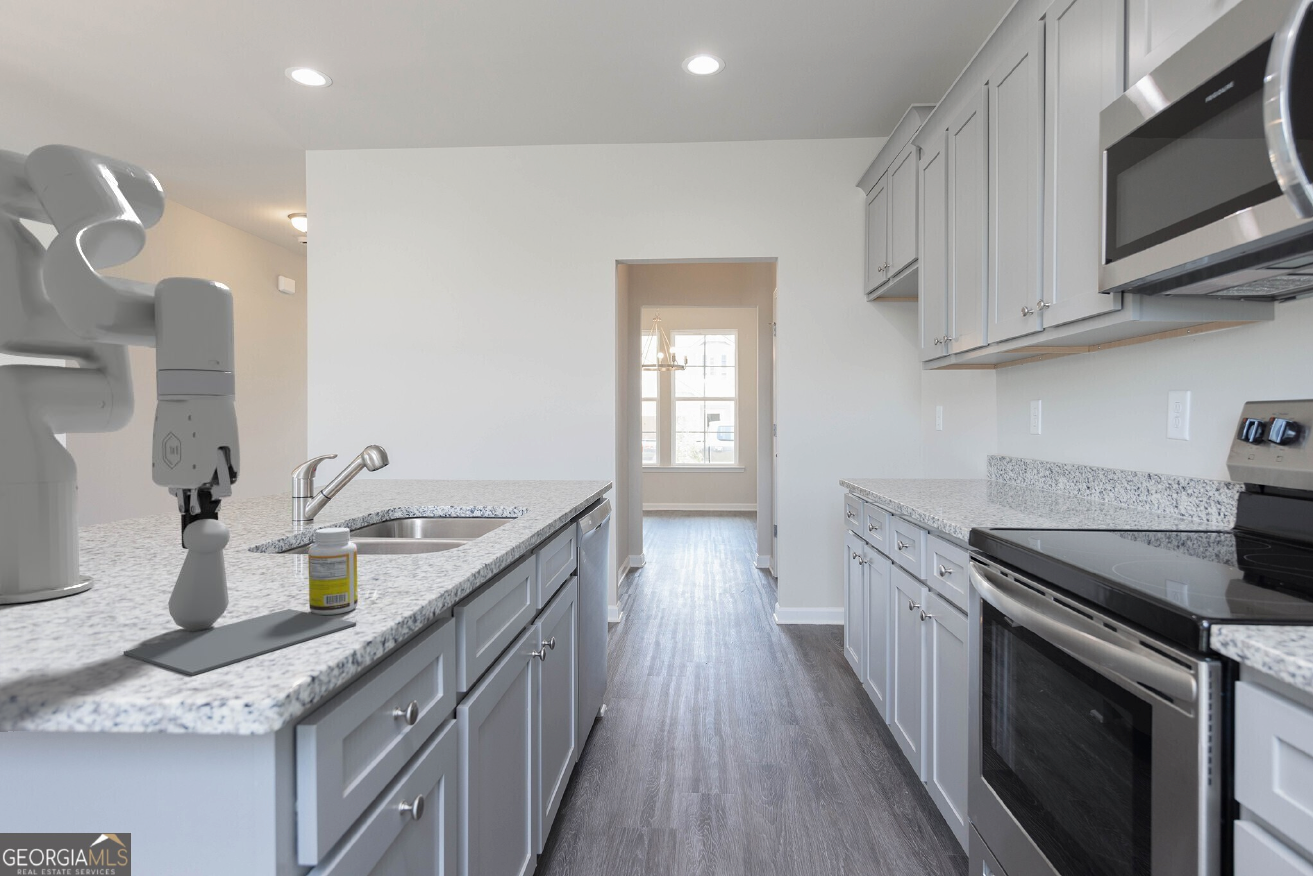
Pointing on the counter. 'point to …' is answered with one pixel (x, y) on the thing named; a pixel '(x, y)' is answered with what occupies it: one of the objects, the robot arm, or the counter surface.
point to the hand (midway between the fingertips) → (200, 547)
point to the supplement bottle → (332, 572)
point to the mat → (237, 641)
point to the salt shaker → (201, 577)
